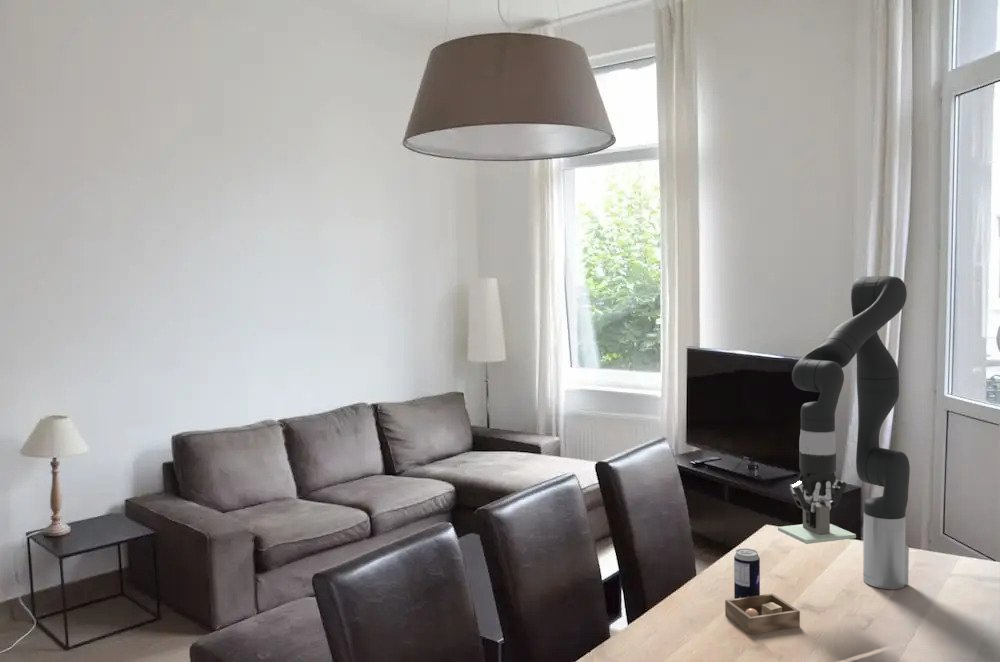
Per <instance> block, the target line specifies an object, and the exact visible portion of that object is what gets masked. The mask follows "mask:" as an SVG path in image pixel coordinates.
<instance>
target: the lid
mask: <svg viewBox="0 0 1000 662" xmlns="http://www.w3.org/2000/svg"><path fill="white" fill-rule="evenodd" d="M830 511H831V509H830V507H828V506H826V505H823V504H821V503H819V501H818V502H817V503H816V510H815V512H816V528H813V529H812V528H810V527H808V525H807V524H806V511H805V510H804V509H802V523H801V524H794V525H792V524H791V525H783V526H778V527H777V532H781V533H783V534H784V535H786V536H789V537H791V538H792V539H795V540H797V541H800V543H801V542H802V543H804V544H806V545H809V544H817V543H827V542H835V541H842V540H851V539H856V538H857V534H856V533H853V532H851V531H849V530H846V529H843V528H841V527H839V526H838V525H835V524H832V523H830V514H831V513H830Z"/></svg>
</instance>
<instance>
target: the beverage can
mask: <svg viewBox="0 0 1000 662" xmlns="http://www.w3.org/2000/svg"><path fill="white" fill-rule="evenodd" d="M733 557H734V559H733V564H734V565H733V567H734V569H733V573H734V574H733V576H734V578H733V579H734V581H733V582H734V584H733V585H734V586H733V587H734V592H733V593H734V598H733V599H737V598H744V597H751V596H759V595H761V588H760V586H761V582H760V581H761V577H760V576H761V574H760V573H761V572H760V571H761V570H760V569H761V568H760V567H761V564H760V563H761V562H760V561H761V560H760V559H761V558H760V556H759V552H758V551H757V550H755V549H751V548H738V549H736V551H735V553H734V556H733Z"/></svg>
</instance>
